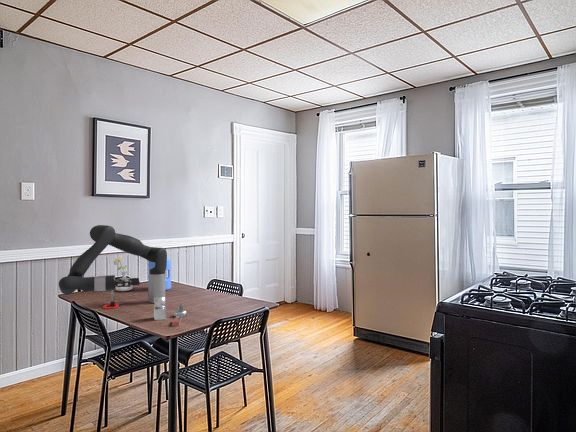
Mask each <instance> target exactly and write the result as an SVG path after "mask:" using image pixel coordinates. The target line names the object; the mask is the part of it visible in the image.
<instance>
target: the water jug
mask: <svg viewBox="0 0 576 432" xmlns="http://www.w3.org/2000/svg"><path fill="white" fill-rule="evenodd" d="M147 261H148V260H147ZM154 267H155V262H150V261H148V263H147V268H148V269H147V271H148V272H147V273H148V274H147V276H148V277H147V278H148V280H147V281H148V286H150V274H149V272H150V269H152V268H154ZM171 269H172V259H171V258H169V257H167V266H166V270H165V272H166V271H167V276H165V291H169V290H171V289H172V278H171ZM148 286H147V287H148Z"/></svg>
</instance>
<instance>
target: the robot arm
mask: <svg viewBox="0 0 576 432" xmlns="http://www.w3.org/2000/svg"><path fill="white" fill-rule="evenodd" d="M89 236H90V238H91V240H92V241H93V242H94V243H93V245H91V247H89V248H88V249H87V250H85V251H84V252H83V253H81V254H80V255H79V256H78V257H77V259H76V260H75V261H74V263H73V264H72V265H71V267H70V269H69V273H68V274H67V276H63V277H61V278H60V279H59V281H58V287H59V290H60V292H61V294H63V295H66V296H67V295H71V294H73V293H74V292H75V291H77V290H79V291H80V290H81V291H82V292H87V293H88V292H108V291H110V292H111V291H112V290H114V291H116V287H130V286H140V285H141V282H140V278H139V277H128V276H126V278H123V277H118V278H117V279H116V275H114V274H113V275H109V274H108V275H97V276H86V277H84V276H85V274H86V273H87V271H88V270H89V269H90V267H91V265H92V264H93V263H94V261H95V260H96V259H97V258H98V256H99V255H101V253H102V252H103V251H104V250H105V249H106V248H107V247H108V246H111V247H113V248H115V249H117V250H120V251H122V252H125V253H128V254H130V255H133V256H138V257H140V258H142V259H145V260H146V261H150V262H155V267H154V268H152V269H150V272H149V274H150V286H147V295H148V296H147V297H148V298H147V300H148V302H149V303H152V304H154V297H157V296H165V297H166V290H165V277H166V271H167V270H166V266H167V258H168V253H167V250H166V249H165V248H164V247H160V246H159V247H158V246H157V247H156V246H148V245H146V244H144V243H143V242H142V240H140V239H138V238H136V237H134V236H130V235H128V234H122V233H116V230H115V228H114V227H113V226H111V225H106V224H103V225H102V224H97V225H95V226H92V227H91V229H90V230H89ZM165 270H166V271H165Z"/></svg>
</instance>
